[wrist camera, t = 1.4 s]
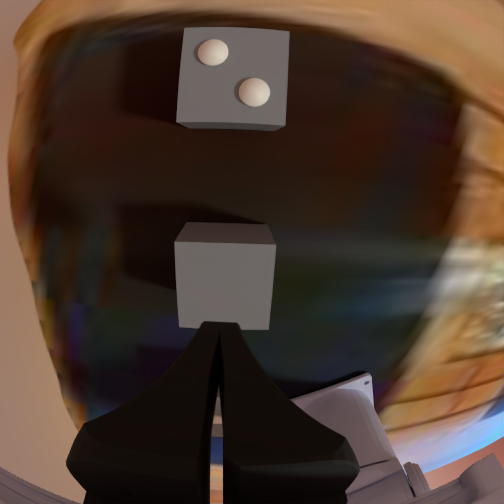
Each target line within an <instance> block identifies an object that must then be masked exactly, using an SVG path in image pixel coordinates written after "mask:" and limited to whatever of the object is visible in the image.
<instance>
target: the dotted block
mask: <svg viewBox="0 0 504 504" xmlns="http://www.w3.org/2000/svg"><path fill="white" fill-rule="evenodd" d="M288 56H289V32H287V31H279V30H268V29H256V28H236V27H198V28H185V29H184V37H183V46H182V55H181V65H180V76H179V89H178V103H177V120H176V122H177V123H179V124H181V125H183V126H185V127H188V128H220V129H248V130H265V131H275V130H277V129H279V128H281V127H284V126H285V119H286V100H287V79H288Z"/></svg>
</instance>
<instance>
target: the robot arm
mask: <svg viewBox="0 0 504 504" xmlns="http://www.w3.org/2000/svg"><path fill="white" fill-rule="evenodd" d="M218 387H219V394H220V406H221V418H222V429H223V504H504V469H503V467H502V466H501V464H500V463H499V461H498V459H497V457H496V456H495V454H494V453H492V454H490V455H488V456H486V457H485V458H483V459H481V460H480V461H478V462H476V463H474V464H473V465H471V466H470V467H469V468H468V469H466V470H465V471H464V472H463V473H462V474H461V475H460V477H459V478H457V479H455V480H453V481H451V482H449V483H447V484H445V485H443V486H440V487H438V488H436V489H434V490H430V487H429V485H428V483H427V481H426V479H425V477H424V475H423V473H422V471H421V469H420V467H419V465H418V464H414V463H411V462H407V463H406V464H404V465H403V466H404V468H405V471H406V473H407V476H406V474H405V472H404V470H403V468H402V466H401V464H400V462H399V460H398V458H397V457H396V455H395V453H394V451H393V448H392V446H391V444H390V442H389V440H388V437H387V435H386V433H385V431H384V429H383V427H382V424H381V422H380V420H379V418H378V416H377V414H376V412H375V410H374V404H373V391H372V379H371V375H370V374H369V373H365V374H362V375H360V376H357V377H354V378H352V379H349V380H347V381H344V382H341V383H338V384H336V385H333V386H330V387H327V388H324V389H321V390H318V391H315V392H312V393H309V394H306V395H303V396H299V397H296V398H293V399H289V398H288V397H287V396H286V395H285V394H284V393H283V392H282V391H281V390H280V389H279V388H278V387H277V386H276V385H275V383H274V382H273V381H272V380H271V379H270V378H269V376H268V375H267V374H266V372H265V371H264V370H263V368H262V367H261V365H260V364H259V363H258V361H257V360H256V358H255V356H254V355H253V353H252V351H251V350H250V348H249V346H248V344H247V342H246V340H245V338H244V336H243V333H242V331H241V328H240V325H239V324H238V323H236V322H215V321H204V322H202V323H201V325H200V327H199V329H198V331H197V332H196V334H195V336H194V337H193V339H192V340H191V342H190V343H189V344H188V346H187V347H186V348H185V350H184V351H183V352H182V354H181V355H180V356H179V357H178V358H177V359H176V361H175V362H174V363H173V364H172V365H171V366H170V367H169V368H168V369H167V370H166V371H165V372H164V373H163V374H162V375H161V376H160V377H159V378H158V379H157V380H156V381H155V382H154V383H152V384H151V385H150V386H149V387H147V388H146V389H145V390H144V391H142V392H141V393H140V394H138V395H137V396H136V397H134V398H133V399H131V400H129V401H128V402H126V403H125V404H123V405H121V406H120V407H118V408H116V409H115V410H113V411H111V412H109V413H107V414H105V415H102V416H100V417H98V418H96V419H93V420H91V421H89V422H86V423H84V424H83V426H82V428H81V429H80V431H79V433H78V434H77V436H76V438H75V440H74V442H73V445H72V447H71V450H70V453H69V455H68V457H67V460H66V466H67V468H68V469H69V471H70V473H71V474H72V475H73V477H74V478H75V479H76V480H77V481H78V483H79V484H80V485H81V486H82V487H83V488H84V489H85V490H86V495H85V499H84V502H83V504H210V456H211V435H212V427H213V420H214V414H215V407H216V400H217V394H218ZM407 477H408V479H407ZM408 480H409V481H408ZM409 482H410V483H409ZM0 504H79V503H77V502H74V501H71V500H69V499H66V498H63V497H61V496H58V495H56V494H54V493H51V492H49V491H47V490H44V489H42V488H40V487H38V486H35V485H33V484H31V483H29V482H27V481H25V480H23V479H21V478H19V477H17V476H16V475H14V474H12V473H10V472H8V471H6V470H5V469H3V468H1V467H0Z"/></svg>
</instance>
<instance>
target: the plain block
mask: <svg viewBox="0 0 504 504" xmlns="http://www.w3.org/2000/svg"><path fill="white" fill-rule="evenodd" d="M174 244H175V269H176V287H177V302H178V315H179V327H186V328H199V327H200V325H201V323H202V322H204V321H215V322H236V323H238V324H239V325H240V328H241V329H245V330H269V320H270V309H271V299H272V288H273V276H274V265H275V253H276V243H275V241H274V238H273V236H272V234H271V231H270V229H269V227H268V225H267V224H240V223H205V222H187V223H186V224H185V226H184V227H183V229H182V230H181V232H180V234H179V235H178V237H177V238H176V240H175V242H174Z"/></svg>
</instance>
